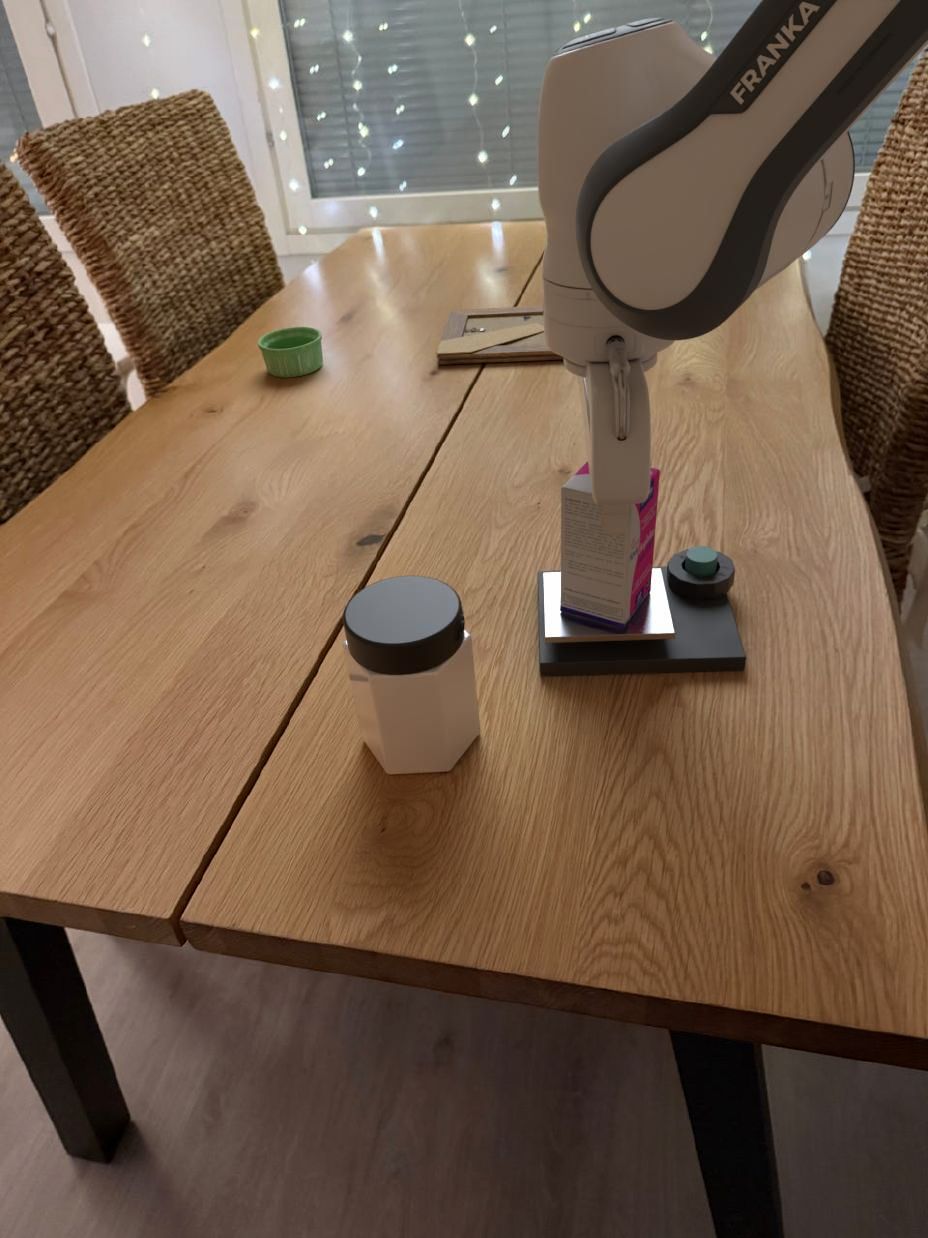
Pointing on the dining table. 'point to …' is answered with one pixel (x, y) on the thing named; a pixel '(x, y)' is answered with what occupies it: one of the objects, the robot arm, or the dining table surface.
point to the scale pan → (643, 625)
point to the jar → (411, 673)
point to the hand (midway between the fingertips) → (610, 496)
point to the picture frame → (494, 336)
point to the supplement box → (604, 554)
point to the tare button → (701, 561)
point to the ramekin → (292, 351)
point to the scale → (697, 645)
